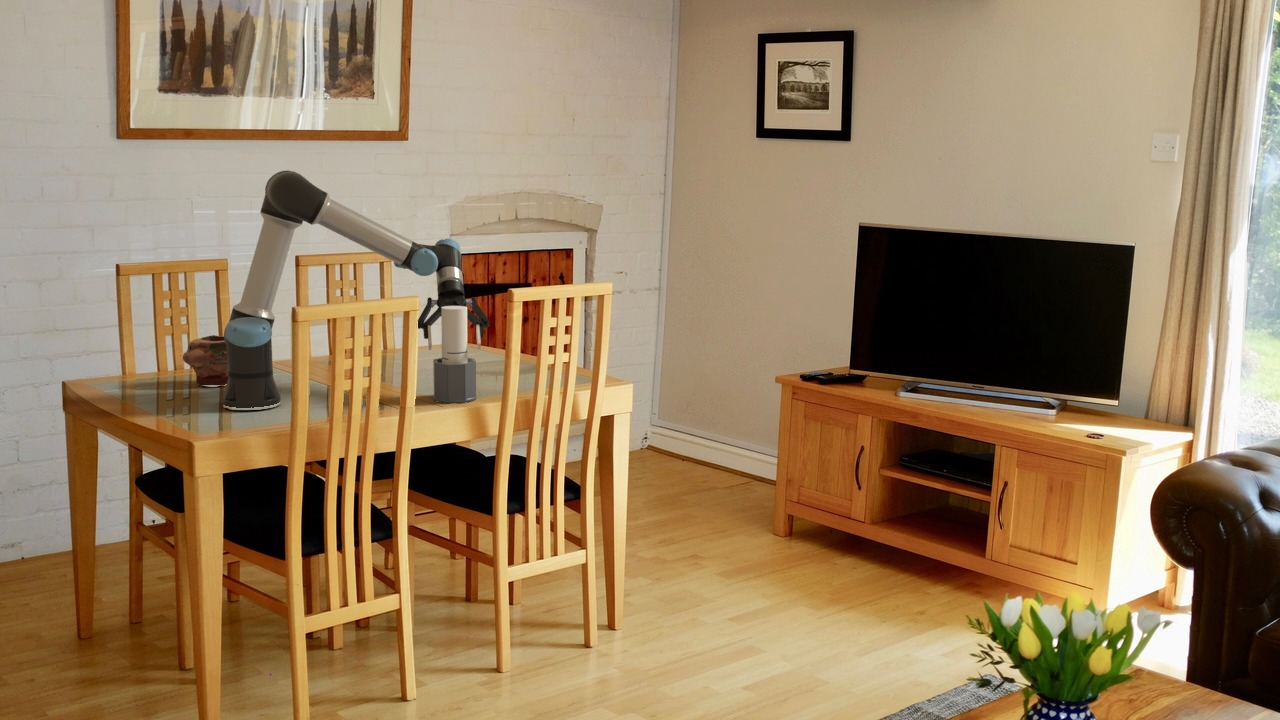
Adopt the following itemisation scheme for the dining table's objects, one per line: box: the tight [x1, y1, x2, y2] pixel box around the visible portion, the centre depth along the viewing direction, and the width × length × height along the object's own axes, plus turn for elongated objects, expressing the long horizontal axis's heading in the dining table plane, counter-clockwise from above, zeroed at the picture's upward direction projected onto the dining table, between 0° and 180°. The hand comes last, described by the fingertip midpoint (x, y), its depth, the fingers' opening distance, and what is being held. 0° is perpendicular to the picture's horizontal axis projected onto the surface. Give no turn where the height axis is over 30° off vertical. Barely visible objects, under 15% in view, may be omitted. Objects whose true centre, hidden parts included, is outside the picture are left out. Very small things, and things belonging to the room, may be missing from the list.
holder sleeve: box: [432, 357, 477, 404], centre depth 348 cm, size 12×12×11 cm
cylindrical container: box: [440, 306, 468, 364], centre depth 346 cm, size 7×7×25 cm
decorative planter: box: [182, 334, 228, 386], centre depth 361 cm, size 20×12×14 cm, turn 121°
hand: (454, 346), depth 344 cm, fingers open, 13 cm apart
